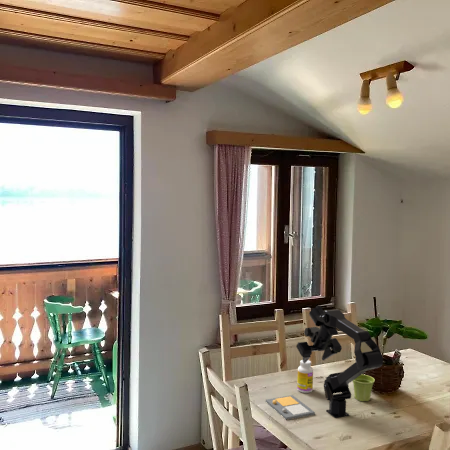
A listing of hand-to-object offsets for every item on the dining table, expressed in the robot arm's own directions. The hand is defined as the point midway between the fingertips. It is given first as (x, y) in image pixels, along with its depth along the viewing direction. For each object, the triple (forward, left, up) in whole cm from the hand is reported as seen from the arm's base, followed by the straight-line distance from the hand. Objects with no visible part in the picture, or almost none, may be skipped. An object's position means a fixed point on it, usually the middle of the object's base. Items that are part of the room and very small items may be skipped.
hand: (313, 361), depth 208 cm
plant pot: (-10, -18, -15) cm, 26 cm away
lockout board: (-7, +15, -15) cm, 22 cm away
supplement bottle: (+6, 0, -15) cm, 16 cm away
